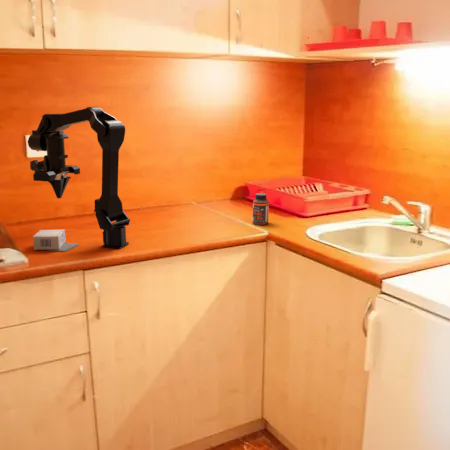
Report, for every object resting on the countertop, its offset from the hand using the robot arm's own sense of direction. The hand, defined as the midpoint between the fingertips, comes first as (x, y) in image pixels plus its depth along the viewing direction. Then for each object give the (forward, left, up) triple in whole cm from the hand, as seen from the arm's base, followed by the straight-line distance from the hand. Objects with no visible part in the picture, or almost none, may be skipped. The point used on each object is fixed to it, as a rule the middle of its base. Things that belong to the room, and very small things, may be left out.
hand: (59, 198), depth 183 cm
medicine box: (-7, +18, -10) cm, 22 cm away
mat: (-8, +13, -13) cm, 20 cm away
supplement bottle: (-61, -38, -13) cm, 73 cm away
